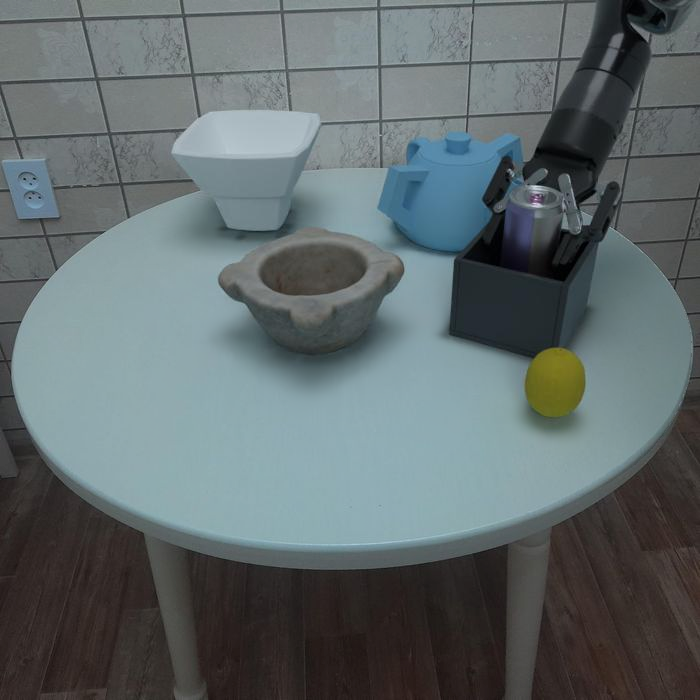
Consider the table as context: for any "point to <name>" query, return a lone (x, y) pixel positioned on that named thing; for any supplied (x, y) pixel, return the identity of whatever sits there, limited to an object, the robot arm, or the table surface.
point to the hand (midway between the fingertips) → (521, 258)
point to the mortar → (313, 287)
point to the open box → (518, 299)
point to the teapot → (445, 188)
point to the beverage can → (532, 230)
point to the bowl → (248, 162)
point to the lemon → (555, 382)
